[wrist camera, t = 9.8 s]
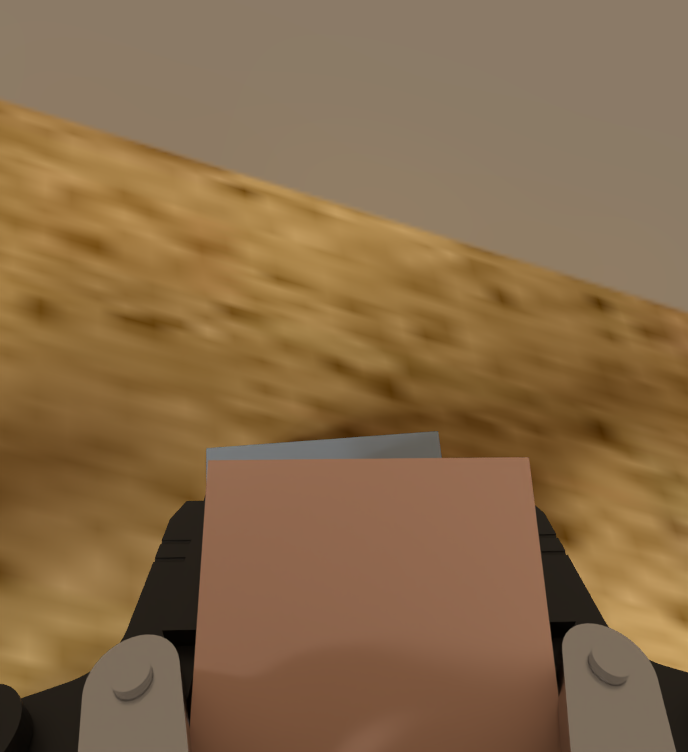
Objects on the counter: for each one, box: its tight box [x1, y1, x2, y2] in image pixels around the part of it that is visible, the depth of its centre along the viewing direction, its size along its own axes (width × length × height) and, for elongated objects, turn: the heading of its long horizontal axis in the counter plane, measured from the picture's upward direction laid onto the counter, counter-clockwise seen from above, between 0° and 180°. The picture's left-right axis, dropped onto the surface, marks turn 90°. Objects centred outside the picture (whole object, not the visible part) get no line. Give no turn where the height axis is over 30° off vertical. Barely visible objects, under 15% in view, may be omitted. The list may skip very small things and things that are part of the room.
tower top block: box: [206, 431, 442, 483], centre depth 19 cm, size 9×9×4 cm
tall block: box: [190, 457, 561, 752], centre depth 10 cm, size 5×5×8 cm
